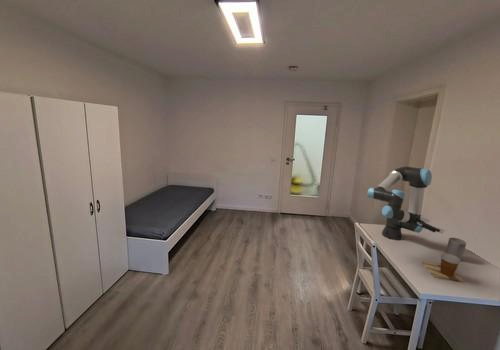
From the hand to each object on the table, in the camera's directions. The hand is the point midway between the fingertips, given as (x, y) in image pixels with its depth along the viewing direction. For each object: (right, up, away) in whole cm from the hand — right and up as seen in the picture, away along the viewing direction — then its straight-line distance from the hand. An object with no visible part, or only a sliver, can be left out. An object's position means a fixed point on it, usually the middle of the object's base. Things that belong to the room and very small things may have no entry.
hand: (435, 226), depth 154 cm
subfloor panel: (+2, -30, -3) cm, 30 cm away
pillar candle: (+26, -27, +16) cm, 41 cm away
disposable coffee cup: (+3, -30, -5) cm, 31 cm away
